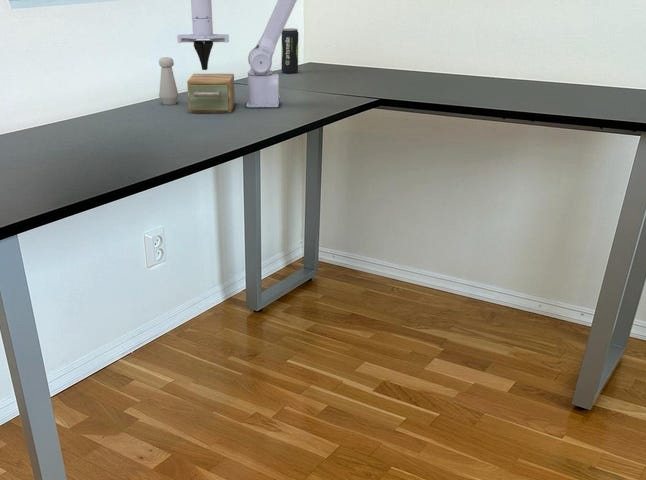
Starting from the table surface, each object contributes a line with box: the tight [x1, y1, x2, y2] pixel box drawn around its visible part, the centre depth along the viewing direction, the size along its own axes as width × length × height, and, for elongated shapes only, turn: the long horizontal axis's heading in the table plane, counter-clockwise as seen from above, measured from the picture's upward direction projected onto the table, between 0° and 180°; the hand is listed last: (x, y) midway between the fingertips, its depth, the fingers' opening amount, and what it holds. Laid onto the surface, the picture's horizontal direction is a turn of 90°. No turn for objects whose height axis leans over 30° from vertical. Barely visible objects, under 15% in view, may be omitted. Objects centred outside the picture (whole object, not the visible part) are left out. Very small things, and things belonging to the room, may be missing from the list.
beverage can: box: [281, 27, 299, 75], centre depth 262 cm, size 6×6×15 cm
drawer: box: [189, 84, 229, 110], centre depth 202 cm, size 18×11×7 cm, turn 178°
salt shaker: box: [158, 56, 179, 106], centre depth 211 cm, size 6×6×13 cm
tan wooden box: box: [186, 73, 236, 114], centre depth 206 cm, size 14×12×9 cm
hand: (204, 69), depth 204 cm, fingers closed
